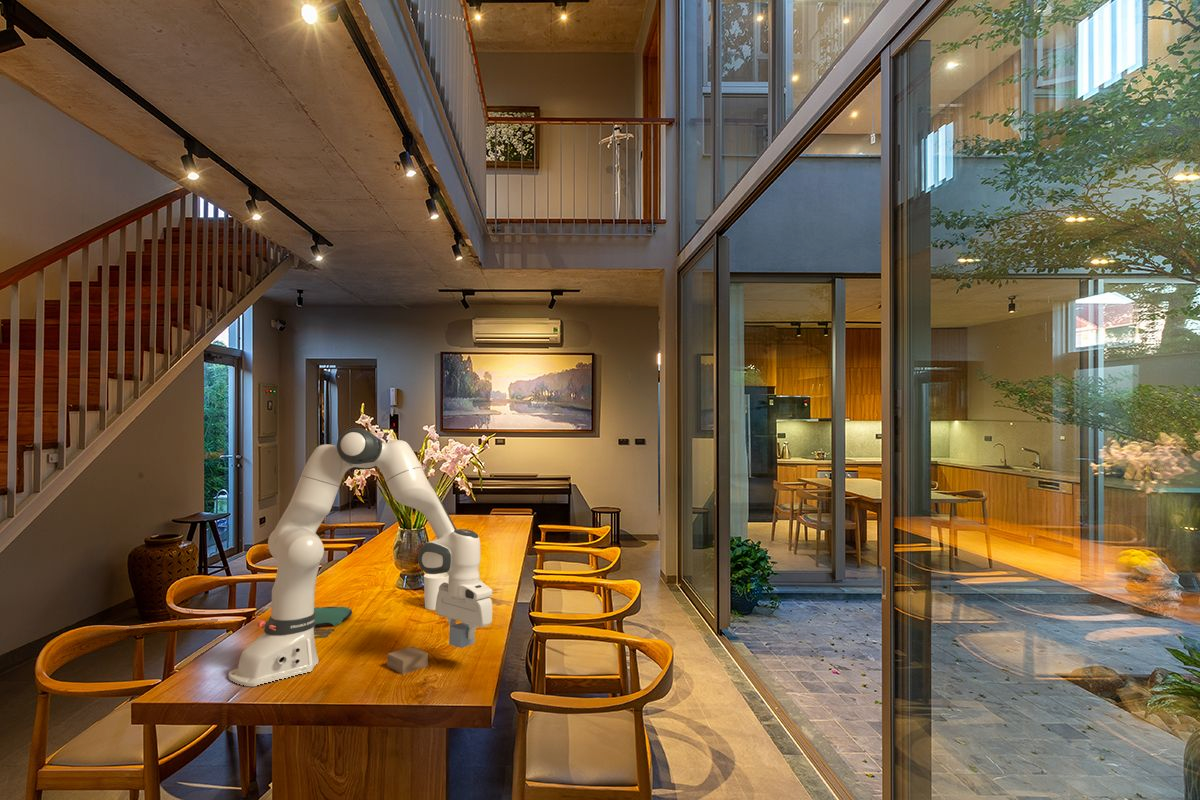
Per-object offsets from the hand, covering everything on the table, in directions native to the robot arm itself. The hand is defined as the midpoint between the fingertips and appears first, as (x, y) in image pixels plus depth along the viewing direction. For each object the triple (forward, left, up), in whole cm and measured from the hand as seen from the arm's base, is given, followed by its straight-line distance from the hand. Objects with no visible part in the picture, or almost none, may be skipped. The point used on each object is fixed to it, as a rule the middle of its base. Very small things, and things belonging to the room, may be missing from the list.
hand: (461, 636), depth 178 cm
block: (0, 0, -2) cm, 2 cm away
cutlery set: (-3, +68, -9) cm, 68 cm away
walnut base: (-9, +12, -9) cm, 18 cm away
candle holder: (+35, +51, -9) cm, 62 cm away
